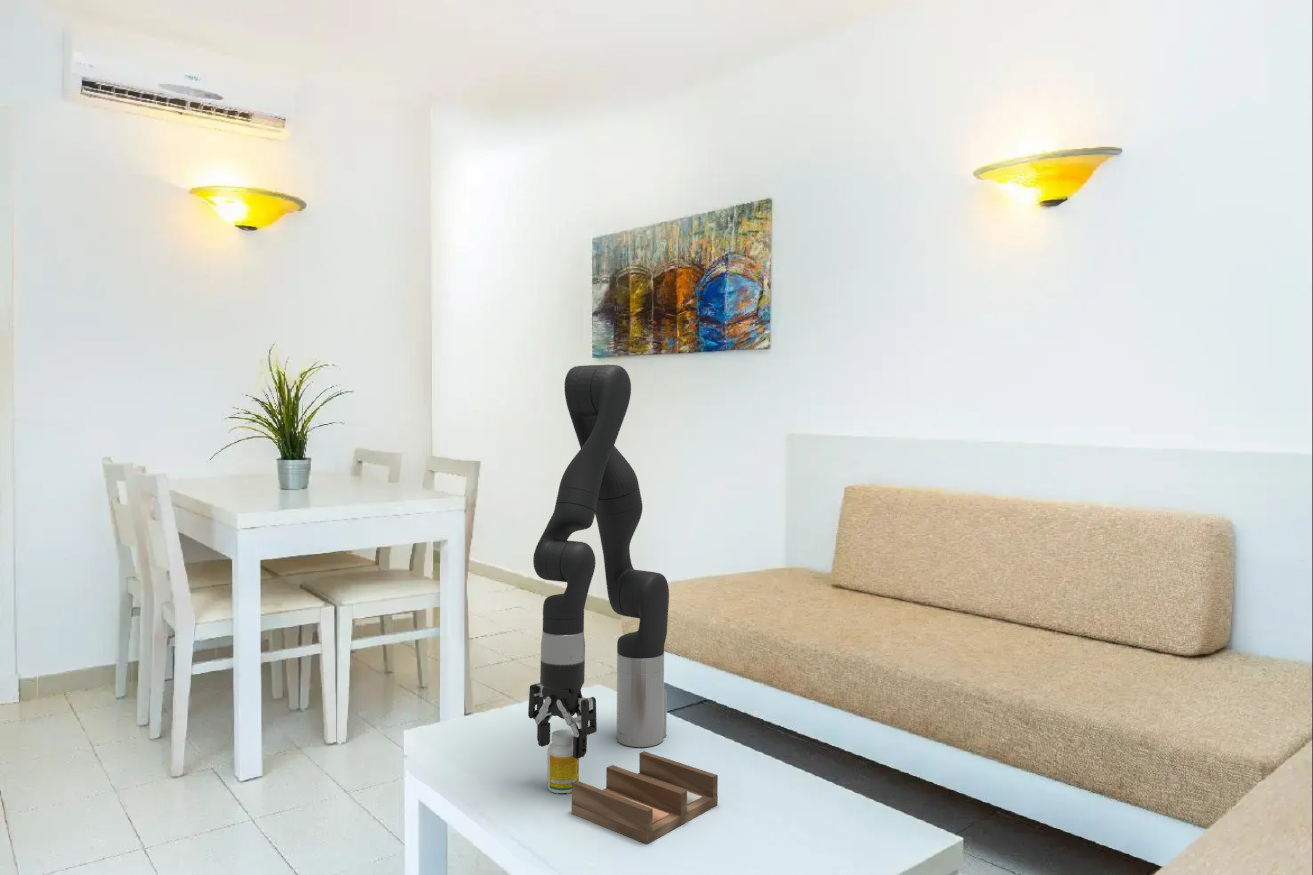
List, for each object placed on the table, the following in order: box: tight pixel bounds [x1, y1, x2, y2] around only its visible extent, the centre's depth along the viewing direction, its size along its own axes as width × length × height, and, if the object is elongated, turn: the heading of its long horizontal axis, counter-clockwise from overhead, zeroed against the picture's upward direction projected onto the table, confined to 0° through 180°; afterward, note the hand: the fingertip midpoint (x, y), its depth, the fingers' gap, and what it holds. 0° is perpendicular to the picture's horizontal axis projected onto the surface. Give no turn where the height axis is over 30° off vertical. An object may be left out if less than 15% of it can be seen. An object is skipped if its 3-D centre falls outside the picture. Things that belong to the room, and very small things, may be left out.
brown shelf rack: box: [570, 750, 719, 845], centre depth 154 cm, size 18×16×5 cm
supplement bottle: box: [546, 729, 580, 794], centre depth 161 cm, size 5×5×10 cm
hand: (561, 751), depth 161 cm, fingers open, 8 cm apart
